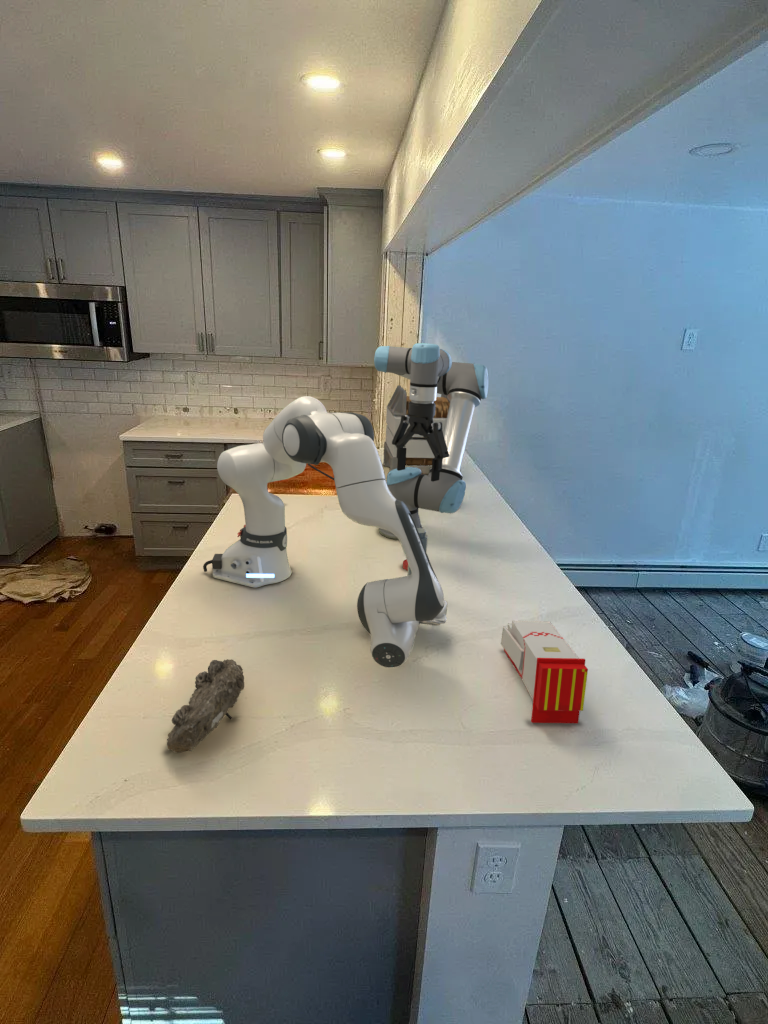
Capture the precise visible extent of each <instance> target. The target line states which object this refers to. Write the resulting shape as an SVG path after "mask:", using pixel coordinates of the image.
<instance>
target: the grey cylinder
mask: <svg viewBox="0 0 768 1024" xmlns="http://www.w3.org/2000/svg"><path fill="white" fill-rule="evenodd" d="M417 530H418V532H419V535H420V538H421V540H422V543H423V545H424V548H425V551H426V553H427V552H428V539H429V538H428V534H427V530H426V529H425V528H423V527H422V528H417ZM411 574H412V572H411V569H410V567H409V564H408V571H407V575H406V576H409V575H411Z"/></svg>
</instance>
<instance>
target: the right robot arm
mask: <svg viewBox="0 0 768 1024" xmlns="http://www.w3.org/2000/svg"><path fill="white" fill-rule="evenodd" d="M373 365H374V368H375V369H376V371H378V372H380V373H385V374H386V373H389V374H394V375H396V376H399V377H402V378H404V379H407V380H409V395H408V396H409V399H410V400H411V401H410V402H409V409H408V414H409V415H410V416H409V415H403V416H401V421H400V425H399V427H398V429H397V431H396V434H395V436H394V438H393V440H392V444H393V445H395V446H396V448H397V458H398V462H397V469H393V470H391V471H390V470H389V471H388V473H387V475H386V483H387V486H388V488H389V490H390V492H391V494H392V495H393V496H394V497H395V499H396V500H399V501H402V502H404V504H405V505H406V506H407V508H408V510H409V511H410V513H411V516H412V518H413V520H414V523H415V525H416V527H417V528H422V529H423V525H422V524H421V518H420V515H419V509H420V510H427V511H433V512H438V513H441V514H443V513H445V514H455V513H456V512H457V511H458V510H459V509H460V508H461V505H462V503H463V501H464V498H465V494H466V489H467V483H466V481H465V480H463V479H464V476H463V474H462V473H461V472H462V471H461V472H460V468H461V469H462V462H463V459H464V455H465V451H466V447H467V441H468V437H469V433H470V429H471V424H472V420H473V416H474V413H475V408H477V407H479V406H480V405H481V401H482V400H484V399H485V400H486V399H487V398H488V394H489V371H488V368H487V366H486V365H484V364H481V363H476V362H472V363H471V362H457V361H453V358H452V356H451V354H450V353H449V351H447V350H446V349H443V348H440V345H438V344H436V343H427V342H426V343H425V342H424V343H420V342H419V343H418V342H417V343H414V344H413V345H412V347H403V346H402V347H401V346H392V345H380V346H378V347H377V348H376V349H375V353H374V357H373ZM441 394H442V395H448V396H447V398H448V400H449V401H450V406H449V410H448V415H447V419H446V423H445V427H444V431H442V422H437V423H435V422H433V417H434V416H435V408H436V404H435V403H434V401H436V397H437V395H441ZM409 424H410V426H409V428H408V429H407V427H408V425H409ZM406 429H407V430H406ZM405 431H407V432H406V433H405ZM404 433H405V434H404ZM428 433H430V434H428ZM414 434H419V435H421V436H423V437H424V438H425V439H426V440H427V442H428V444H429V446H430V448H431V450H432V453H433V455H434V457H435V458H433V459H432V465H431V467H430V468H429V470H428V474H424V473H423V474H422V470H421V468H419V467H416V466H407V465H406V448H403V447H406V446H405V445H406V444H407V442H408V441H409V440H410V439H411V437H412V436H413V435H414ZM307 466H309V467H310V468H312V469H313V470H314V471H317V472H318V473H320V474H321V475H324V476H325V477H327V478H329V479H330V480H332V481H334V482H335V480H334V476H331V475H329V474H328V473H326V472H324V471H322V470H320V469H318V468H317V467H315V466H313V464H307ZM378 533H379V534H380V535H381V536H382V537H385V538H387V539H389V540H395V541H399V539H398V538H397V537H396V535H394V534H393V533H392V532H390V531H388V530H385V529H381V528H378Z"/></svg>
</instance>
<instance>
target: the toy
mask: <svg viewBox="0 0 768 1024" xmlns="http://www.w3.org/2000/svg"><path fill="white" fill-rule="evenodd" d="M500 645H501V646H502V648H503V652H504V654H505V655H506V657H507V658H508V660H509V661H510V663H511V664H512V666H513V668H514V669H515V671H516V672H517V674H518V676H519V677H520V679H521V680H522V683H523V685H524V686H525V688H526V690H527V692H528V694H529V696H530V697H531V699H532V708H531V719H530V722H531V723H532V724H579V719H580V712H583V711H584V706H585V697H586V689H587V680H588V671H589V669H588V667H587V666H586V659H585V658H580V657H579V656H578V655H577V654H576V652H575V651H574V650H573V648H572V647H571V646H570V645H569V644H568V642H567V641H566V640H565V638H564V637H563V636H562V634H561V633H560V632H559V631H558V630H557V628H556V627H555V626H554V624H553V623H552V622H551V621H549V620H548V621H545V620H540V621H539V620H511V622H508V623H507V626H502V632H501V638H500Z"/></svg>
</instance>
